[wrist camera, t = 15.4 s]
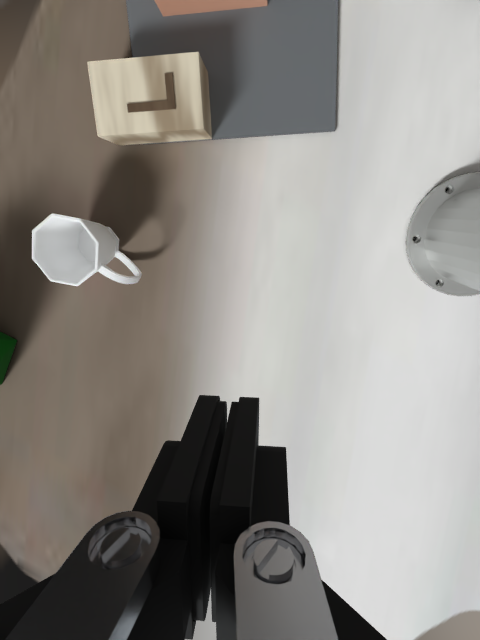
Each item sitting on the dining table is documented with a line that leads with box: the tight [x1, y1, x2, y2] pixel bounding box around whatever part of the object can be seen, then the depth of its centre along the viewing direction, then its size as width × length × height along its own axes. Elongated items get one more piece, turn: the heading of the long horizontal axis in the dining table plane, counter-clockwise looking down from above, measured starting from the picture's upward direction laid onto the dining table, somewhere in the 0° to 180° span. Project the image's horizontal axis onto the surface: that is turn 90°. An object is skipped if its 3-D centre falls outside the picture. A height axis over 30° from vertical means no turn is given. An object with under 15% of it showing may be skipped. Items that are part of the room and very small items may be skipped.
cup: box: [32, 213, 142, 286], centre depth 39 cm, size 7×10×8 cm
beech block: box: [87, 52, 212, 145], centre depth 35 cm, size 5×6×10 cm
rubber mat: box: [126, 0, 338, 144], centre depth 36 cm, size 20×18×1 cm
